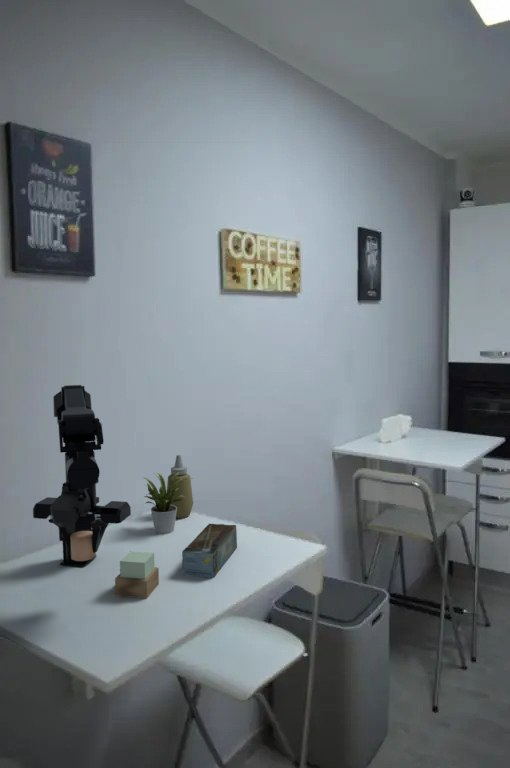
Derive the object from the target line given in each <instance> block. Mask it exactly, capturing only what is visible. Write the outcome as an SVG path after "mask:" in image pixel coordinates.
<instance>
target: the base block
mask: <svg viewBox="0 0 510 768" xmlns="http://www.w3.org/2000/svg"><path fill="white" fill-rule="evenodd" d="M154 568H155V569H154V570H153V571H152V572H151V573H150V574H149V575H148V576H147V577H146V579H138V578H126V577H120V573H119V574H118V575H117V576H116V577H115V578H114V582H115V583H114V585H115V586H114V587H115V591H114V593H115V596H119V597H127V598H128V597H129V598H139V599H140V598H141V599H148V598H149V597H150V596H151V594H152V593H153V592H154V591H155V589H156V588H157V587H158V586H159V585H160V579H159V578H160V573H159V568H160V567H156V566H154Z"/></svg>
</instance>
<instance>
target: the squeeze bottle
mask: <svg viewBox="0 0 510 768" xmlns="http://www.w3.org/2000/svg"><path fill="white" fill-rule="evenodd" d="M183 464H184V463H183V460H182V456H181V454H177V455H176V457H175V462H174V466H172V467H171V468H170V474H169V475H168V476H167V483H166V491H167V490H168V486H169V482H170V480H171V479H172V477H173V476H174V475H175V474H177V473H179V472H181V473H179V474H178V475H177V477H176V479H175V480H174V482H173V484H172V486H171V488H172V487H173V486H174V484H175V483H176V482H178V480H180V479H182V480H184V479H187V478H191V476H190V474H189V473H188V470H187V469H188V467H187V466H184V465H183ZM182 480H181V481H182ZM191 480H192V479H187V480H185V481H183V482H182V483H180V482H181V481H180V482H179V483H180V484H179V483H178V484H179V486H178V487H177V488H179V489H178V490H177V491H176V493H175V494H174V496H173V498H172V501H174V498H175V497H177V496H179V495H183V496H184V497H178V498H176V499H181V500H183V501H176V502H173V503H172V504H170V505H174V506H176V507H177V513H176V519H184V518H187V516H188V517H189V516H190V515H191V512H192V510H193V507H194V498H193V489H192V481H191ZM173 488H174V487H173ZM173 488H172V489H173ZM177 488H176V489H177ZM176 499H175V500H176ZM172 501H171V502H172ZM183 517H184V518H183Z"/></svg>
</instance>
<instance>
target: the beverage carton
mask: <svg viewBox="0 0 510 768" xmlns="http://www.w3.org/2000/svg"><path fill="white" fill-rule="evenodd" d="M237 534H238V533H237V525H236V524H224V523H220V524H218V523H208V524H207V525H206V526H205V527H204V528H203V529H202V530H201V532H200V533H199V534H198V535H196V537H195V538H193V540H192V541H191V542H190V543H189V544H188V546H186V547H185V548H184V549H183V550H182V554H181V557H182V559H181V560H182V561H181V563H182V571H183V576H191V577H199V576H201V577H202V578H208V577H210V578H211V579H214V578H215V577H216V576H217V574H218V573H219V572H220V570H221V569H222V568H223V566H224V565H225V564H226V562H227V561H228V560H229V558H230V557H231V555H232V554H233V553H234V552H235V551H236V549H237V548H238V541H237V540H238V536H237ZM210 578H209V579H210Z"/></svg>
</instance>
